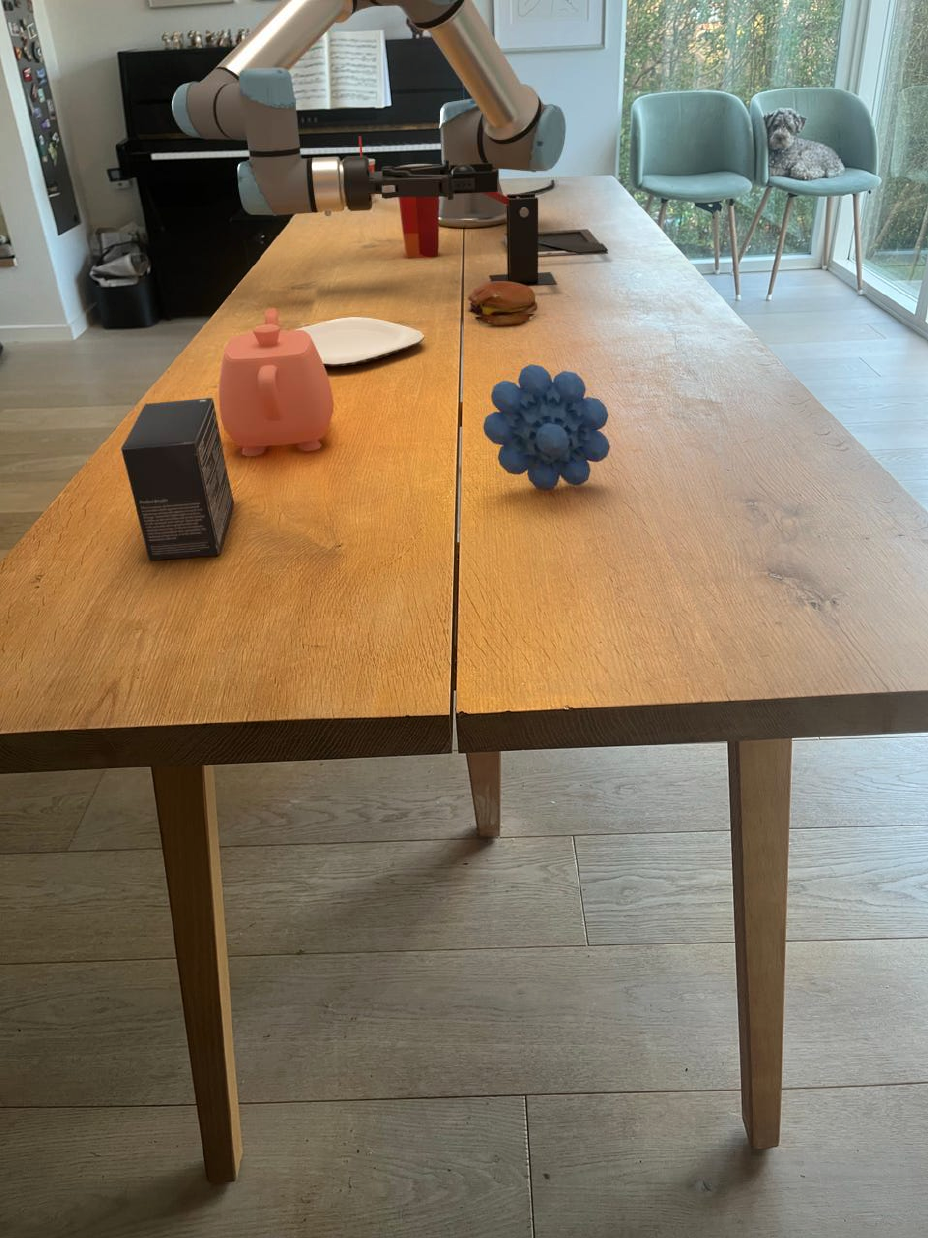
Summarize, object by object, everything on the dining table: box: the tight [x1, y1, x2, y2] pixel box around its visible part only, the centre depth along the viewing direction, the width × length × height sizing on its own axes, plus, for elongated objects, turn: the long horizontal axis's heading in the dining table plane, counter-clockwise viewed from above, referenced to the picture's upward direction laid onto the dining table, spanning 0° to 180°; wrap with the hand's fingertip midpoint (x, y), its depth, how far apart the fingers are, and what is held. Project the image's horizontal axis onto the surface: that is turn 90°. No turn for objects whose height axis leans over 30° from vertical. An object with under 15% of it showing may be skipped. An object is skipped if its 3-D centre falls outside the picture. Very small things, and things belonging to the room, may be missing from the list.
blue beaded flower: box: [482, 363, 611, 491], centre depth 89 cm, size 12×7×12 cm, turn 95°
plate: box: [295, 316, 426, 367], centre depth 132 cm, size 18×18×2 cm
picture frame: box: [504, 228, 609, 258], centre depth 180 cm, size 16×2×21 cm
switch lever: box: [451, 164, 520, 206], centre depth 150 cm, size 13×4×4 cm, turn 93°
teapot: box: [218, 307, 335, 457], centre depth 104 cm, size 20×12×12 cm, turn 8°
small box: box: [120, 397, 235, 561], centre depth 85 cm, size 11×6×10 cm, turn 5°
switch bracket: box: [488, 193, 558, 287], centre depth 154 cm, size 10×8×14 cm
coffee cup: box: [398, 163, 440, 260], centre depth 177 cm, size 8×8×15 cm
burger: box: [467, 281, 538, 327], centre depth 142 cm, size 10×9×5 cm
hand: (494, 176), depth 149 cm, fingers open, 8 cm apart
